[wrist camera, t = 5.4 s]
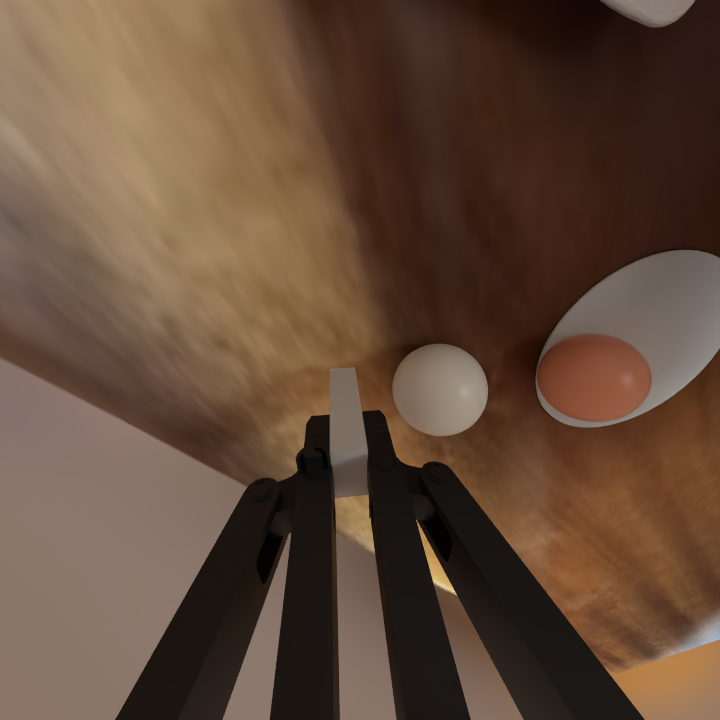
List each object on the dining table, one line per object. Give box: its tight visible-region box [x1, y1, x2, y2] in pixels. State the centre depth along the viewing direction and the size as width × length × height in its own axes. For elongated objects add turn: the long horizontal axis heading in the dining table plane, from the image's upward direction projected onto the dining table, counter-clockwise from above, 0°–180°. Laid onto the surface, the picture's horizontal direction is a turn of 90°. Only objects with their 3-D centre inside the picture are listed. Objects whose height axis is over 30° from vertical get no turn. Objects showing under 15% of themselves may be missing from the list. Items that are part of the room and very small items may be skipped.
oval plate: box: [535, 250, 720, 427], centre depth 20 cm, size 14×14×1 cm
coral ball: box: [537, 333, 652, 422], centre depth 18 cm, size 6×6×6 cm
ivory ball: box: [392, 344, 488, 436], centre depth 17 cm, size 6×6×6 cm
